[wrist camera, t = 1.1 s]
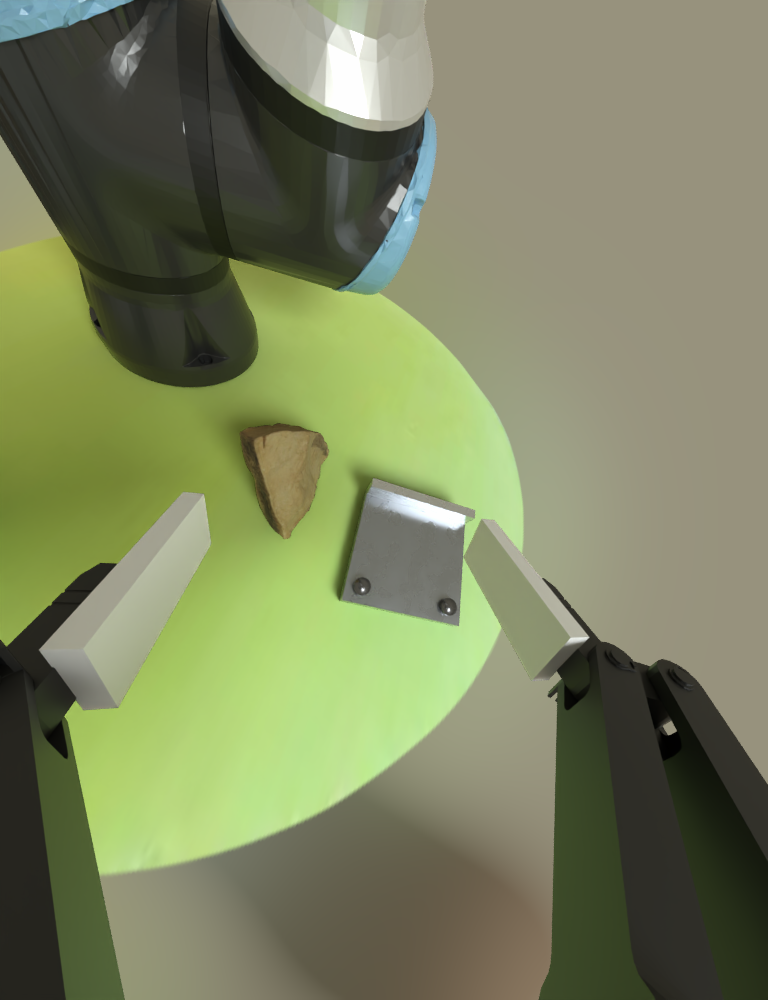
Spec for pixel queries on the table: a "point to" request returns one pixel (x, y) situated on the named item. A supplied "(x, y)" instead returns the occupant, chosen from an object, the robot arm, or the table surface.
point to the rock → (284, 471)
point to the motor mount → (407, 554)
